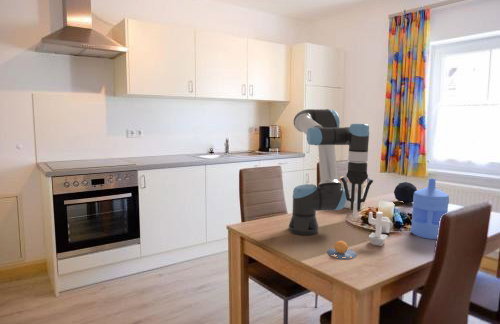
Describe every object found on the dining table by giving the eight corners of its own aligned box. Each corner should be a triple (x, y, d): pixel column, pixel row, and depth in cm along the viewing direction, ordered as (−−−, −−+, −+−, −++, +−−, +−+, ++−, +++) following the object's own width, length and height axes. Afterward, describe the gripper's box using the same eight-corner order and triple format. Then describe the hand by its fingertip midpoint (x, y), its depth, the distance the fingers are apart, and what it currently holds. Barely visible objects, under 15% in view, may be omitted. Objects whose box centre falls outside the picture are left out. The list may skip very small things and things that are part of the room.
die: (390, 237, 172) (398, 220, 174) (374, 228, 173) (383, 211, 175) (383, 237, 180) (391, 221, 182) (368, 228, 181) (377, 212, 183)
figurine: (386, 248, 156) (388, 215, 154) (365, 243, 162) (366, 212, 159) (390, 243, 163) (392, 211, 160) (369, 239, 168) (371, 208, 166)
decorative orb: (391, 191, 248) (394, 176, 238) (414, 192, 244) (418, 178, 234) (393, 207, 238) (395, 193, 228) (417, 208, 234) (421, 194, 224)
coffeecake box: (364, 207, 224) (366, 177, 221) (361, 210, 218) (363, 179, 215) (341, 204, 232) (343, 175, 229) (338, 206, 226) (339, 177, 223)
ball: (349, 247, 146) (341, 257, 147) (351, 245, 151) (344, 255, 152) (338, 239, 148) (330, 249, 149) (340, 237, 153) (333, 247, 154)
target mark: (325, 256, 147) (325, 256, 147) (329, 246, 158) (329, 246, 158) (355, 261, 142) (355, 260, 142) (357, 250, 153) (357, 250, 153)
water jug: (411, 227, 185) (414, 175, 181) (445, 232, 178) (449, 178, 175) (410, 236, 171) (414, 180, 168) (446, 242, 165) (451, 183, 161)
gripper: (375, 161, 144) (371, 216, 147) (342, 159, 149) (340, 213, 152) (374, 163, 137) (371, 222, 140) (340, 161, 142) (337, 218, 145)
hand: (355, 217), depth 146 cm, fingers closed
